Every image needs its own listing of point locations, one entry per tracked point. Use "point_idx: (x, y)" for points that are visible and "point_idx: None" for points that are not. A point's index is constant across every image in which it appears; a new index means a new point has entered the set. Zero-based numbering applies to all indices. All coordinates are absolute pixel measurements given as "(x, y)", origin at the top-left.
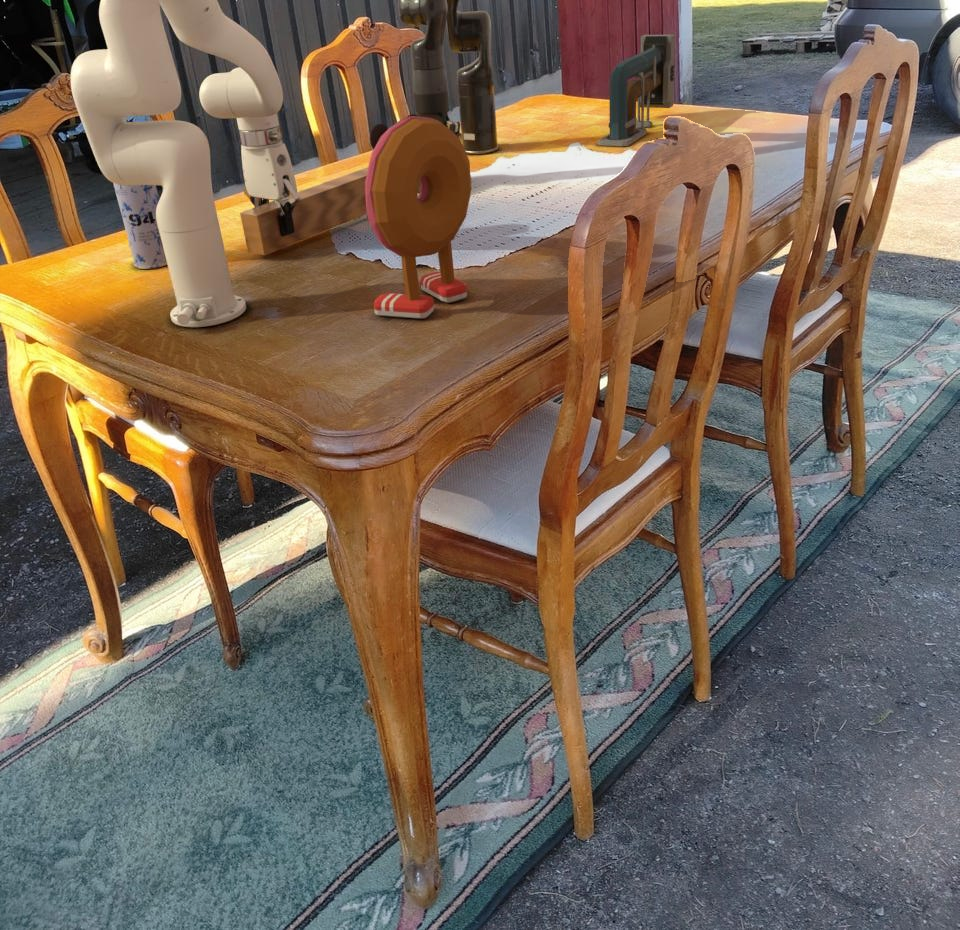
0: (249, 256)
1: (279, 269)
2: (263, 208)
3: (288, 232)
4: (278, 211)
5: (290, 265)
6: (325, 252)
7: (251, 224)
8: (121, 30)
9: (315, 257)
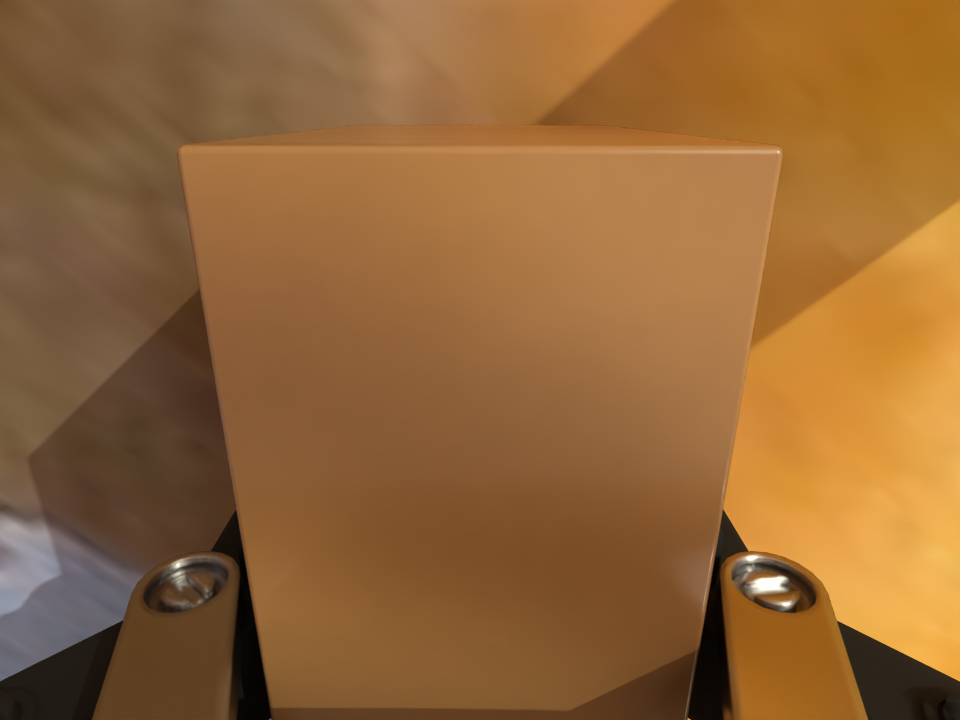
0: None
1: (83, 35)
2: (490, 555)
3: None
4: (239, 599)
5: (98, 166)
6: (139, 499)
7: (446, 135)
8: None
9: (102, 396)
